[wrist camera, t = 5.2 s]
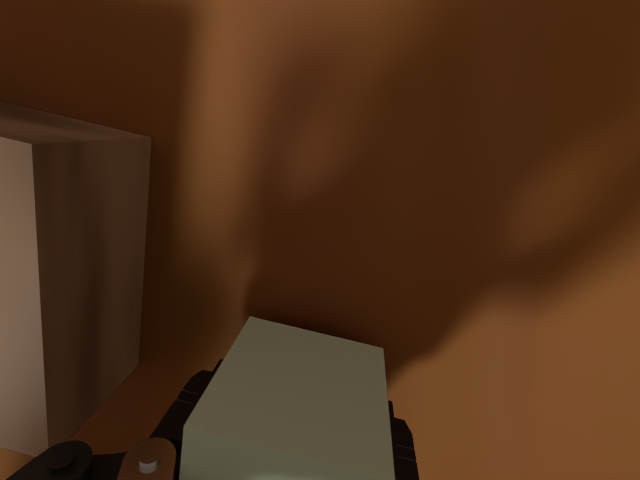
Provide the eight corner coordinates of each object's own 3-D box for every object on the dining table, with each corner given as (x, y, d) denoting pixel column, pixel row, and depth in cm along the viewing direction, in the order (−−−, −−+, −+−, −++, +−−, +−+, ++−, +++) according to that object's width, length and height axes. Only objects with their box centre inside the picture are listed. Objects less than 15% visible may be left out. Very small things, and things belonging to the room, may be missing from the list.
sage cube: (383, 347, 13) (394, 480, 8) (352, 449, 14) (347, 609, 10) (249, 316, 13) (183, 425, 8) (234, 419, 14) (172, 561, 10)
